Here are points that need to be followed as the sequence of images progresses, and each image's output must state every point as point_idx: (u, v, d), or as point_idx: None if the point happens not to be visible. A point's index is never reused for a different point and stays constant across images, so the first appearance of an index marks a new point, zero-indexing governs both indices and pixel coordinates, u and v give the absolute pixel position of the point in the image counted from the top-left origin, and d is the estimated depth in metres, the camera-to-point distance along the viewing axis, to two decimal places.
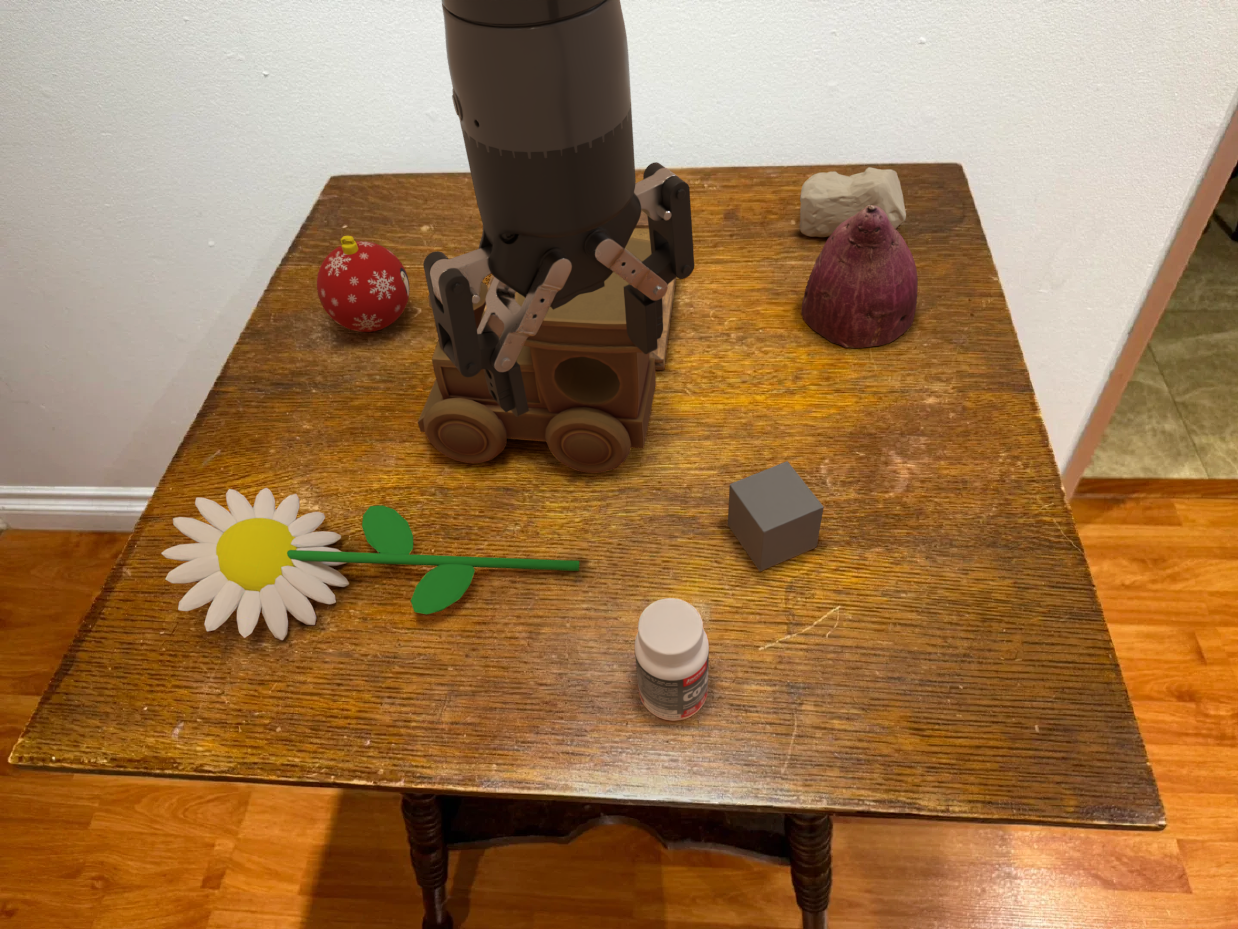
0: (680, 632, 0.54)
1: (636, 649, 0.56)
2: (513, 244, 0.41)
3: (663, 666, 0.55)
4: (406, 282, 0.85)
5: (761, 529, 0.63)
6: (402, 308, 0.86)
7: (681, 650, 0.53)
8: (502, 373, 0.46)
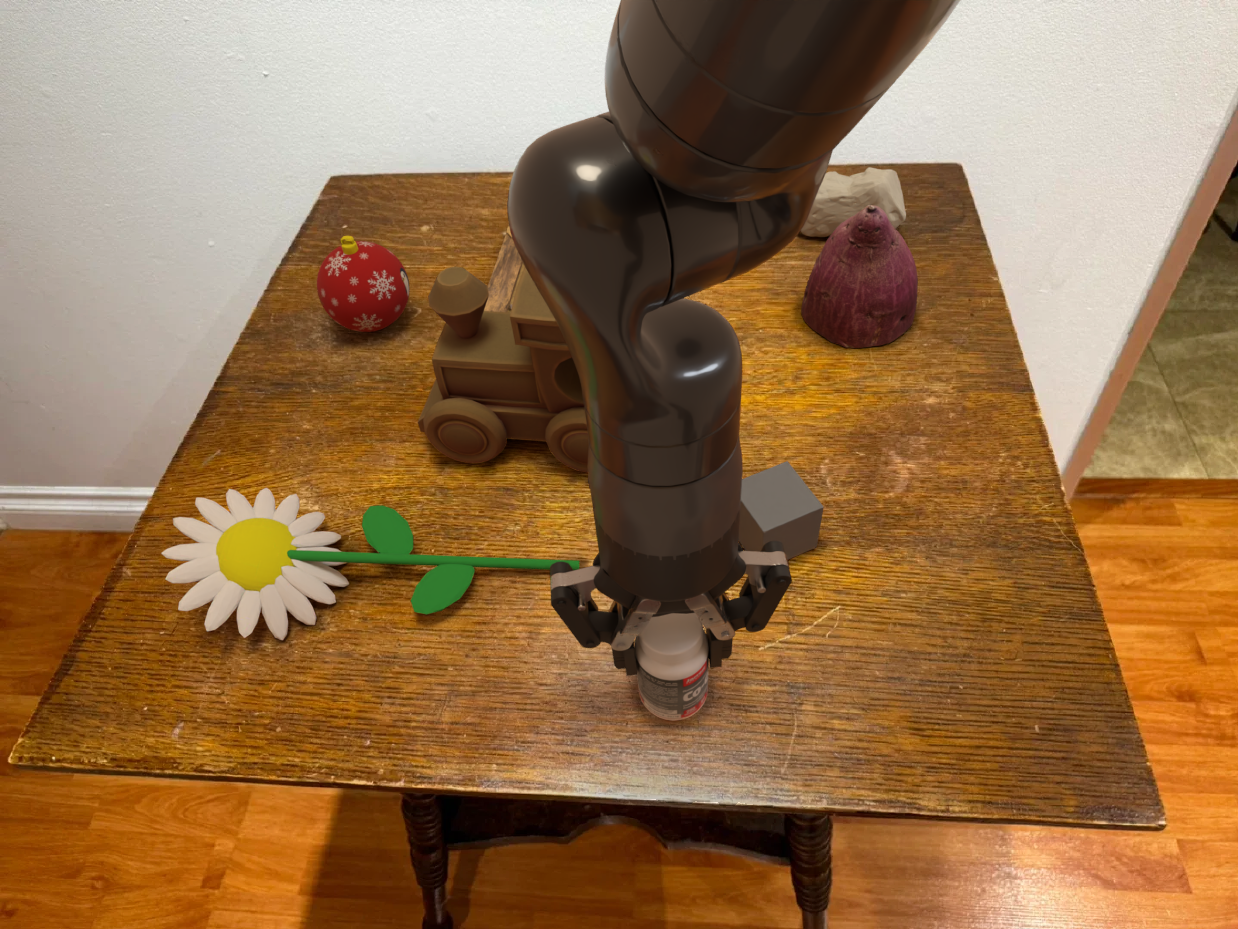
0: (680, 632, 0.54)
1: (636, 649, 0.56)
2: None
3: (663, 666, 0.55)
4: (406, 282, 0.85)
5: (761, 529, 0.63)
6: (402, 308, 0.86)
7: (681, 649, 0.53)
8: None
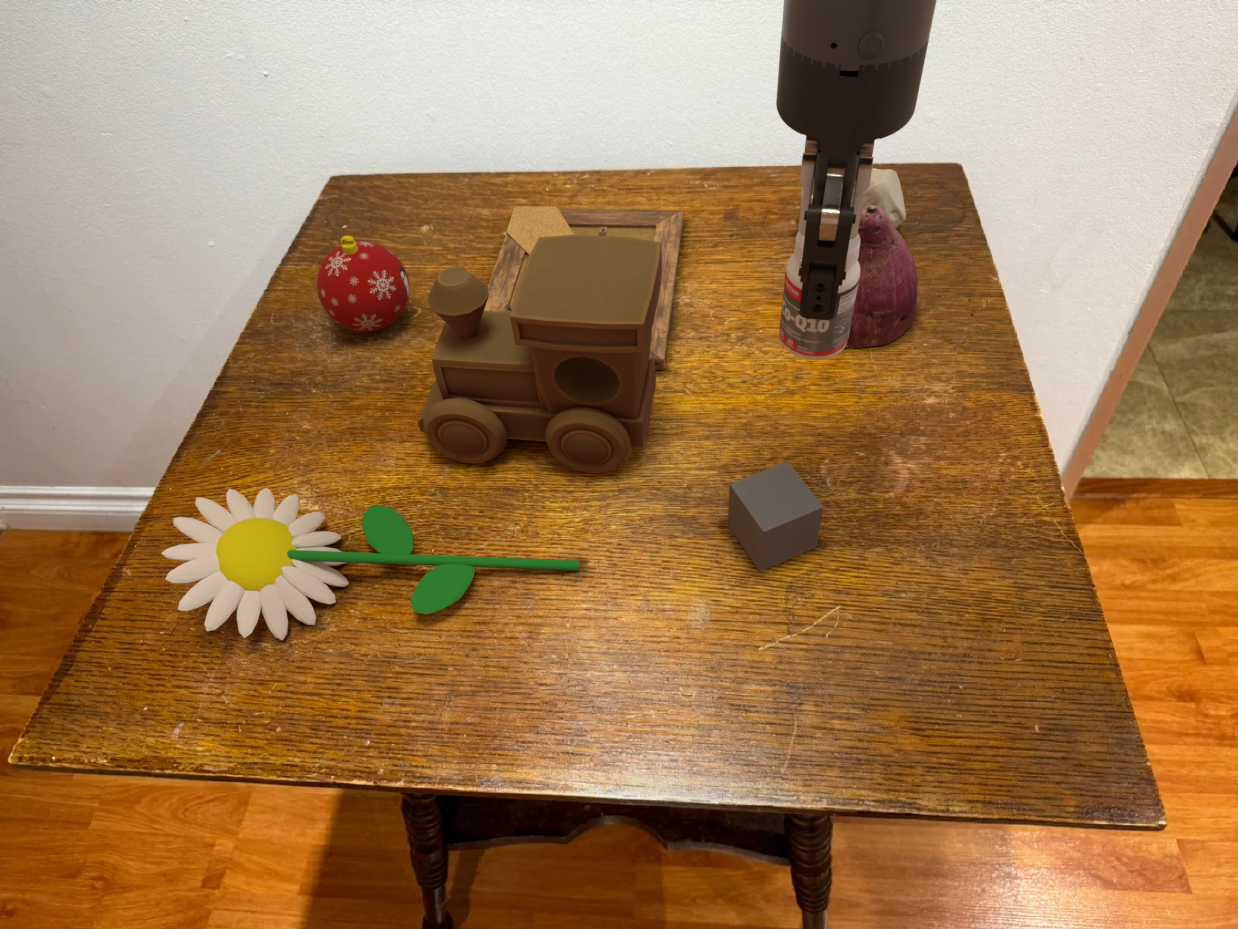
0: None
1: None
2: None
3: None
4: (406, 282, 0.85)
5: (761, 529, 0.63)
6: (402, 308, 0.86)
7: (798, 240, 0.56)
8: None
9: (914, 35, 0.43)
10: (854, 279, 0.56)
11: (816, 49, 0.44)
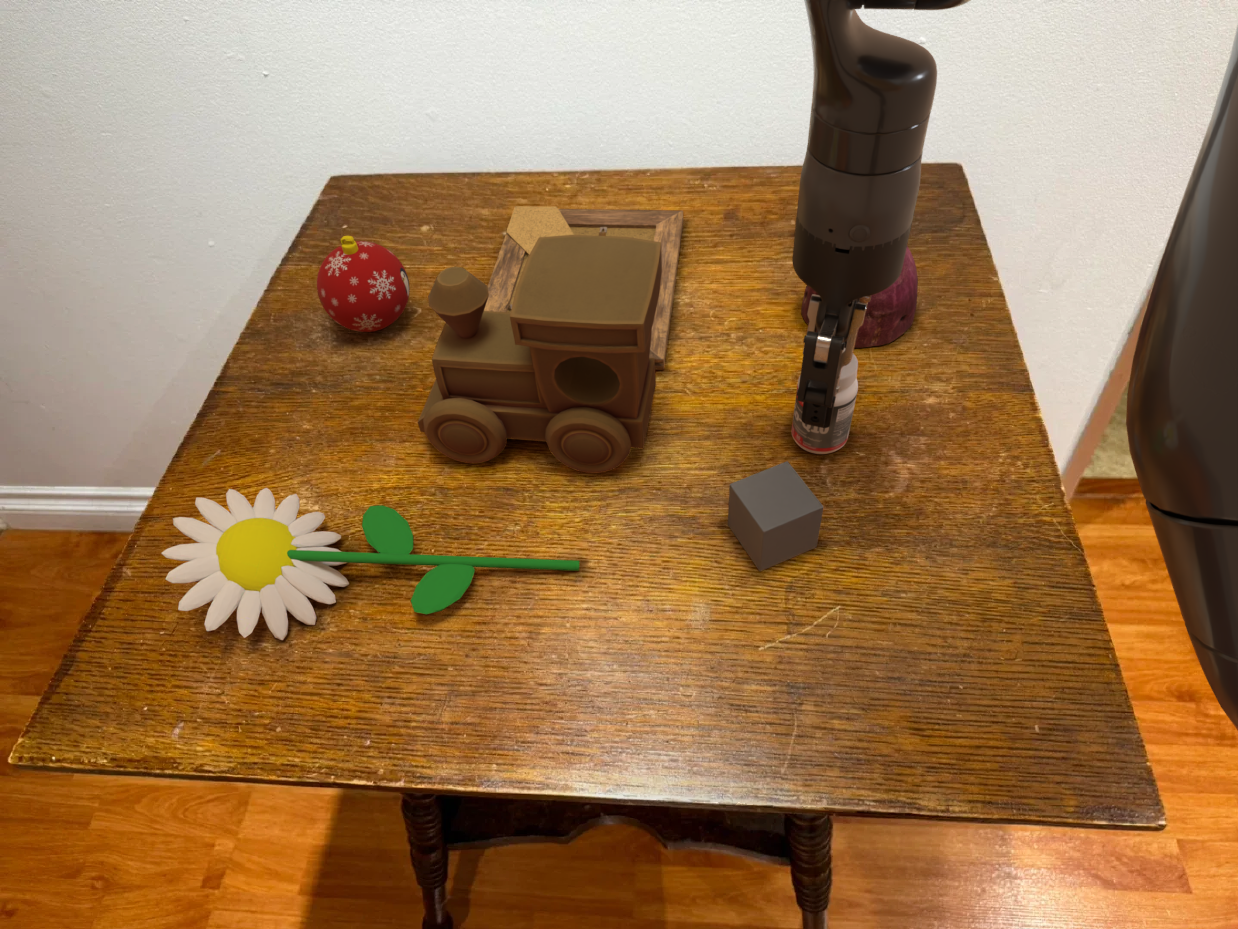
0: None
1: None
2: None
3: None
4: (406, 282, 0.85)
5: (761, 529, 0.63)
6: (402, 308, 0.86)
7: None
8: None
9: (894, 227, 0.56)
10: (851, 396, 0.69)
11: (818, 230, 0.57)
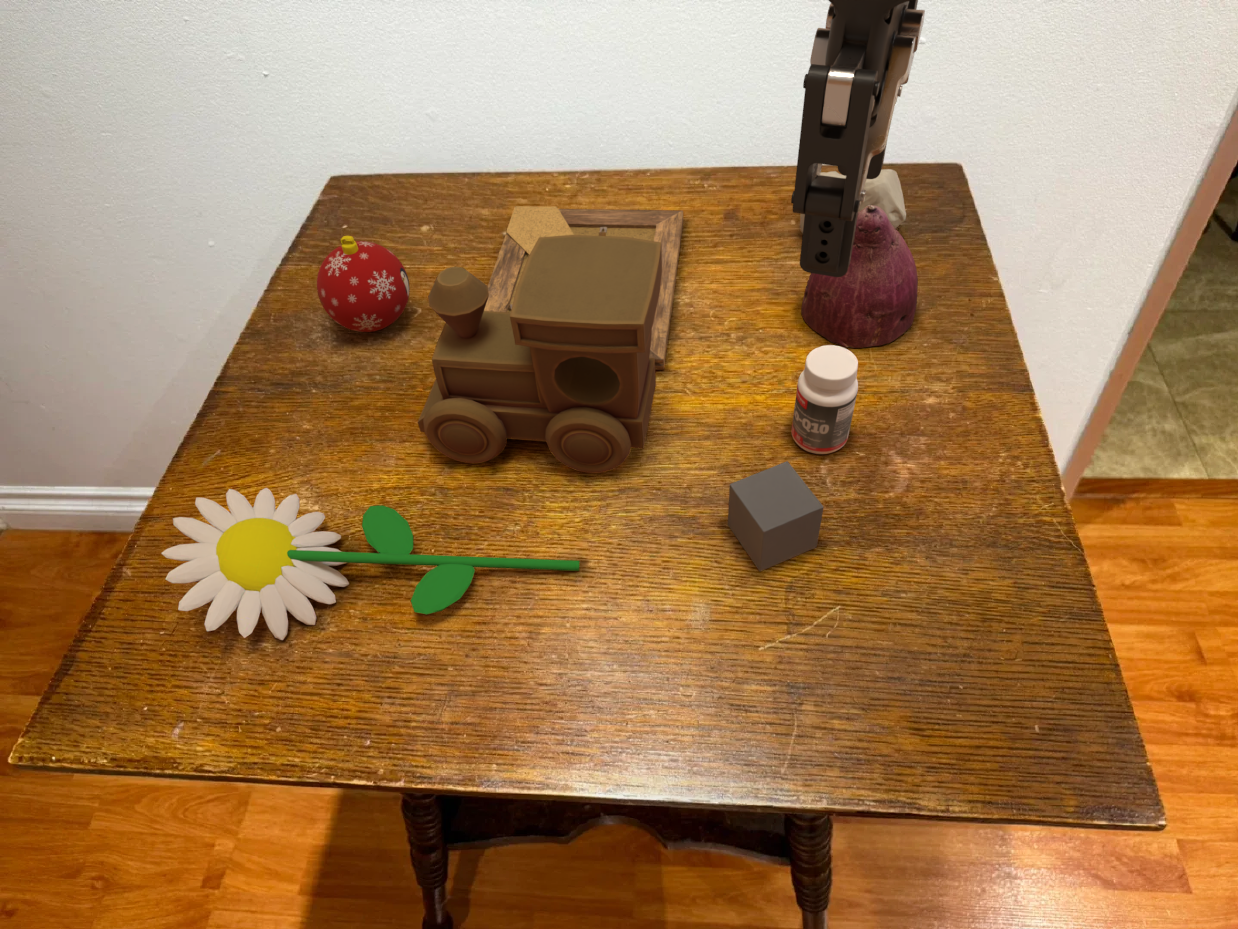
0: (822, 364, 0.69)
1: None
2: None
3: None
4: (406, 282, 0.85)
5: (761, 529, 0.63)
6: (402, 308, 0.86)
7: (807, 361, 0.69)
8: None
9: None
10: (851, 396, 0.69)
11: None
